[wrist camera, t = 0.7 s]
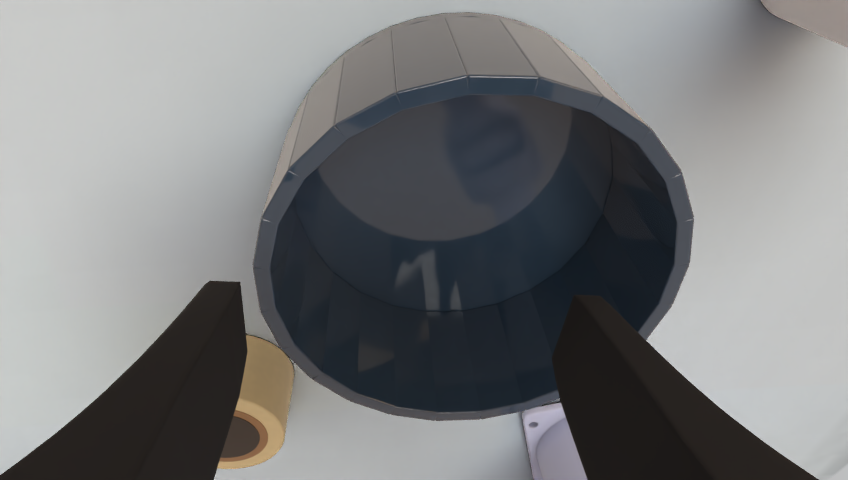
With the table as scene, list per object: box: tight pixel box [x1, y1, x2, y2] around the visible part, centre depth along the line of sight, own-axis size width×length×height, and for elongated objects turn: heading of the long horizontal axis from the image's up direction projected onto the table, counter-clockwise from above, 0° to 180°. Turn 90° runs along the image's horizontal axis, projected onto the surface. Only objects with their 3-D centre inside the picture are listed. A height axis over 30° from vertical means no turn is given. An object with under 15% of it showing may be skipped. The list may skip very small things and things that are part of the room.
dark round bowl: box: [253, 12, 694, 421], centre depth 19 cm, size 13×13×6 cm
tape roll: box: [217, 335, 294, 469], centre depth 25 cm, size 5×5×4 cm
